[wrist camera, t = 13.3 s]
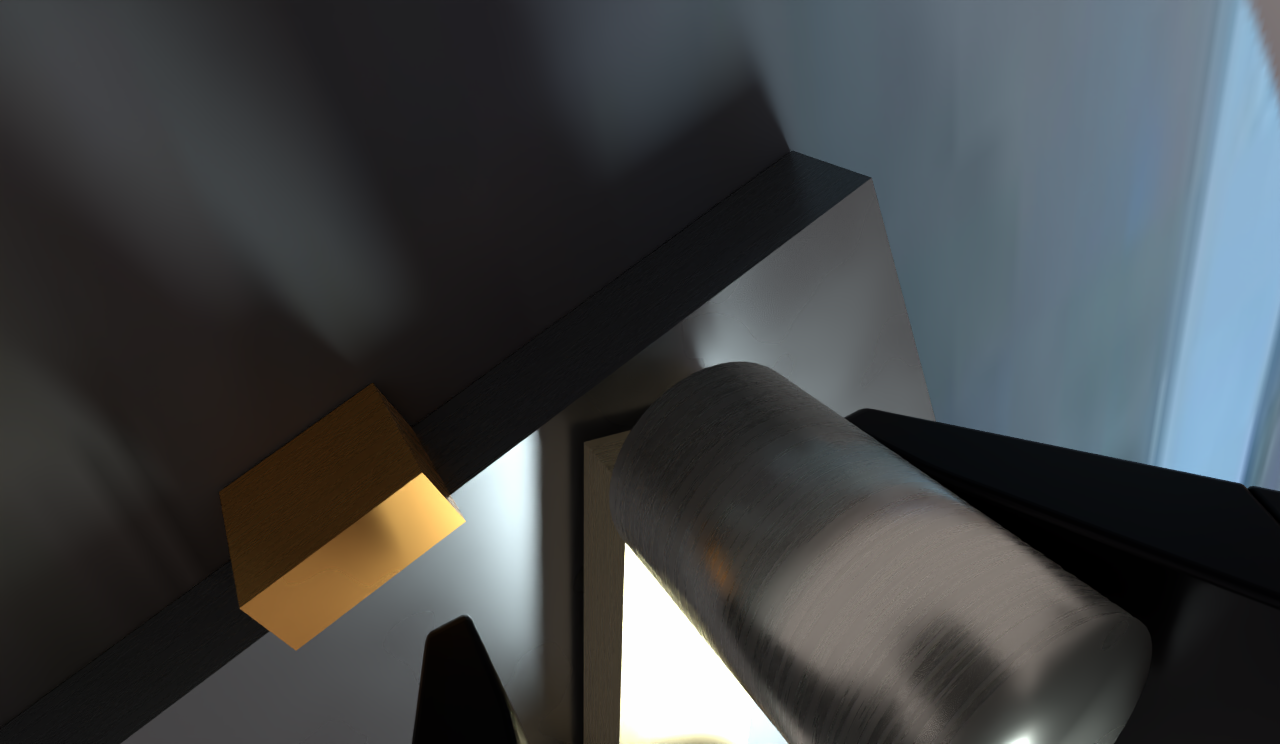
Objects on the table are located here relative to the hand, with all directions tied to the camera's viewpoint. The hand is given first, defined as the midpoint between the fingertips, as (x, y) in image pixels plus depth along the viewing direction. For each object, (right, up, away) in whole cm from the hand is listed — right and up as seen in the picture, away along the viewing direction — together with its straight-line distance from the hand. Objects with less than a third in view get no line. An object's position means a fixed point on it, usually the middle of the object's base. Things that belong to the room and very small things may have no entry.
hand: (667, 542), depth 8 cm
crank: (0, -2, +3) cm, 4 cm away
